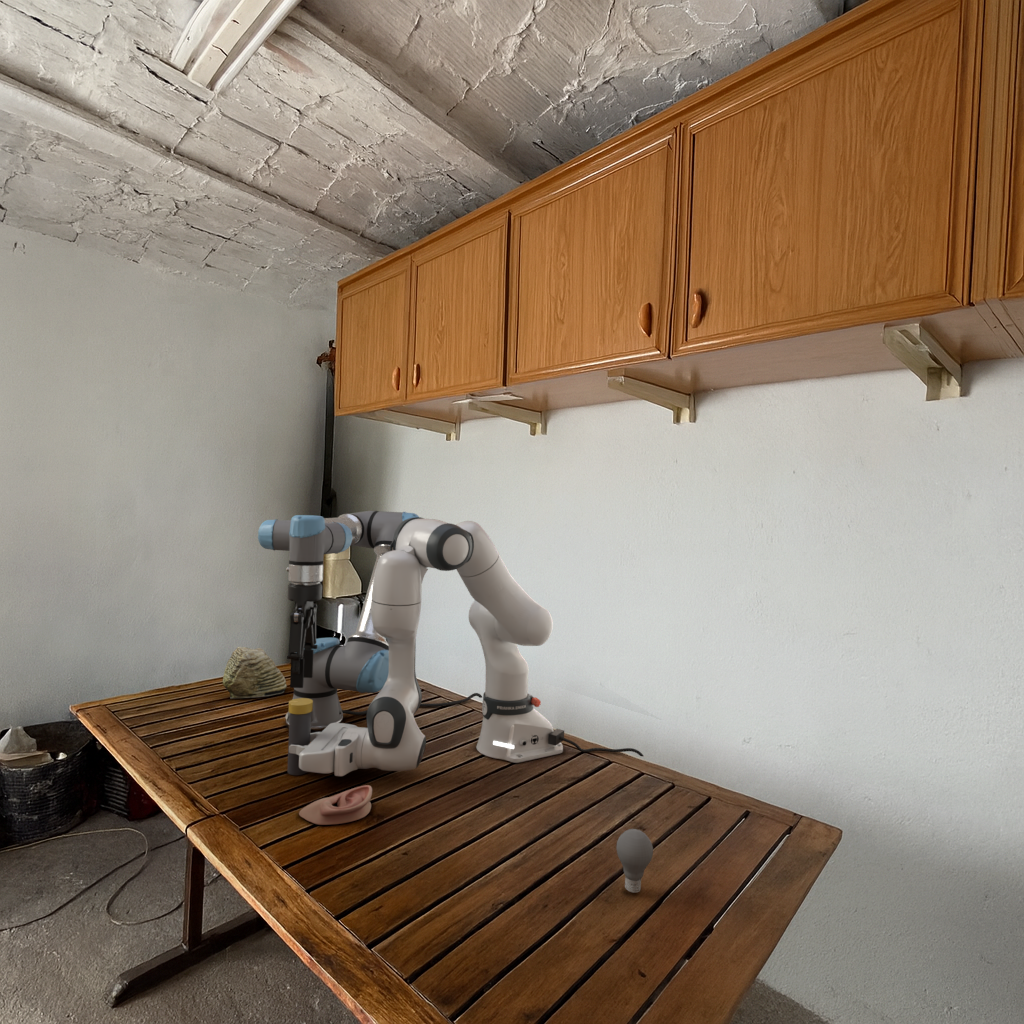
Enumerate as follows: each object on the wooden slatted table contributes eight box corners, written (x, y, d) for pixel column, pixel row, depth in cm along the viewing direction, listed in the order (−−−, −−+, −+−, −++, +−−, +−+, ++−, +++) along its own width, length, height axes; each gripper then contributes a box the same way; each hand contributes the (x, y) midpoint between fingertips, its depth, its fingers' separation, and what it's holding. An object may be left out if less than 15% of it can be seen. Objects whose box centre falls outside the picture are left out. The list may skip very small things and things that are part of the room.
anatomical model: (291, 800, 123) (320, 775, 134) (290, 820, 123) (320, 794, 134) (354, 810, 120) (379, 784, 132) (353, 830, 121) (378, 803, 132)
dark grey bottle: (294, 765, 148) (296, 699, 148) (312, 767, 148) (315, 701, 147) (283, 774, 144) (285, 705, 143) (302, 776, 143) (305, 707, 143)
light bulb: (610, 879, 108) (613, 822, 108) (644, 879, 109) (647, 822, 109) (619, 902, 102) (622, 840, 102) (655, 901, 103) (658, 840, 103)
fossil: (218, 695, 195) (220, 647, 195) (278, 685, 208) (279, 640, 207) (228, 703, 189) (230, 653, 188) (289, 692, 201) (290, 645, 201)
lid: (295, 705, 148) (296, 697, 148) (316, 708, 148) (317, 699, 148) (284, 713, 143) (284, 704, 143) (305, 715, 142) (305, 706, 142)
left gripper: (300, 576, 155) (297, 669, 155) (274, 588, 135) (270, 695, 135) (332, 577, 155) (328, 670, 156) (310, 589, 135) (306, 696, 135)
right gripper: (368, 718, 155) (313, 714, 156) (340, 750, 135) (276, 746, 135) (367, 743, 155) (312, 739, 156) (338, 780, 135) (275, 775, 136)
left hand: (301, 682), depth 145 cm, fingers open, 7 cm apart
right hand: (295, 743), depth 146 cm, fingers closed on dark grey bottle, 5 cm apart
